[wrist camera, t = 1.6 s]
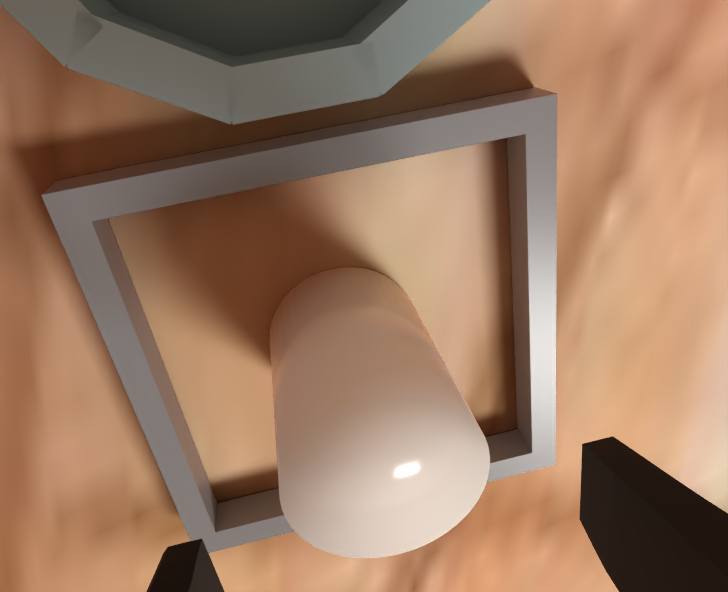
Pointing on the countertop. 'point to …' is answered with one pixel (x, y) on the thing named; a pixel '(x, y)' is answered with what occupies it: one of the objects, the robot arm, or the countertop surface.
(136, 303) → the empty gray rectangular frame
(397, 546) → the pestle
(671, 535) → the robot arm
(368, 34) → the bowl
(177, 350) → the countertop surface
